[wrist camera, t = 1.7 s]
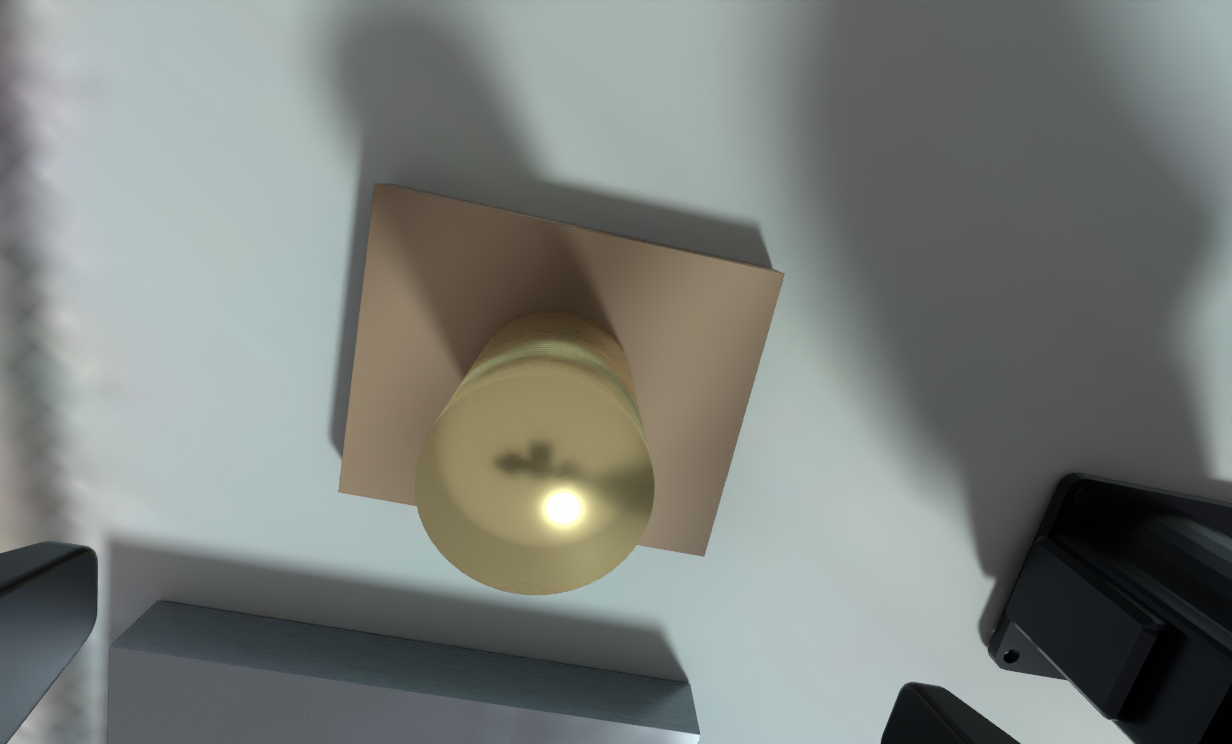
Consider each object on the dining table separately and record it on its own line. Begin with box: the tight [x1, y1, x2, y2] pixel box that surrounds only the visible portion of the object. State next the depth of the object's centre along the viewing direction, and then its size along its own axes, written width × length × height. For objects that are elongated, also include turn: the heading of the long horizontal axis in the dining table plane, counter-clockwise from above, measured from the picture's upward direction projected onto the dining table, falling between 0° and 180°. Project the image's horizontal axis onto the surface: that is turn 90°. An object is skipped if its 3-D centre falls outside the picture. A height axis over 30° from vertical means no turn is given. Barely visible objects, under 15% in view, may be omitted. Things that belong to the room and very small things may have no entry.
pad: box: [338, 184, 784, 556], centre depth 17 cm, size 10×8×1 cm
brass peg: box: [414, 309, 655, 595], centre depth 14 cm, size 4×4×6 cm
